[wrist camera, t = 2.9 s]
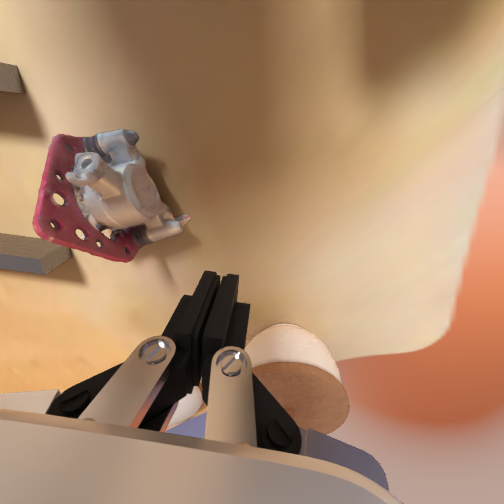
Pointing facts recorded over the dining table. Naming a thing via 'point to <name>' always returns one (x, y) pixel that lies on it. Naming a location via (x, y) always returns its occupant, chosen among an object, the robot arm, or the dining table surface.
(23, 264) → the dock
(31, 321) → the dining table surface
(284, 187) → the dining table surface
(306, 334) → the lidded bowl
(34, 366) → the dining table surface
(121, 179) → the brake caliper
